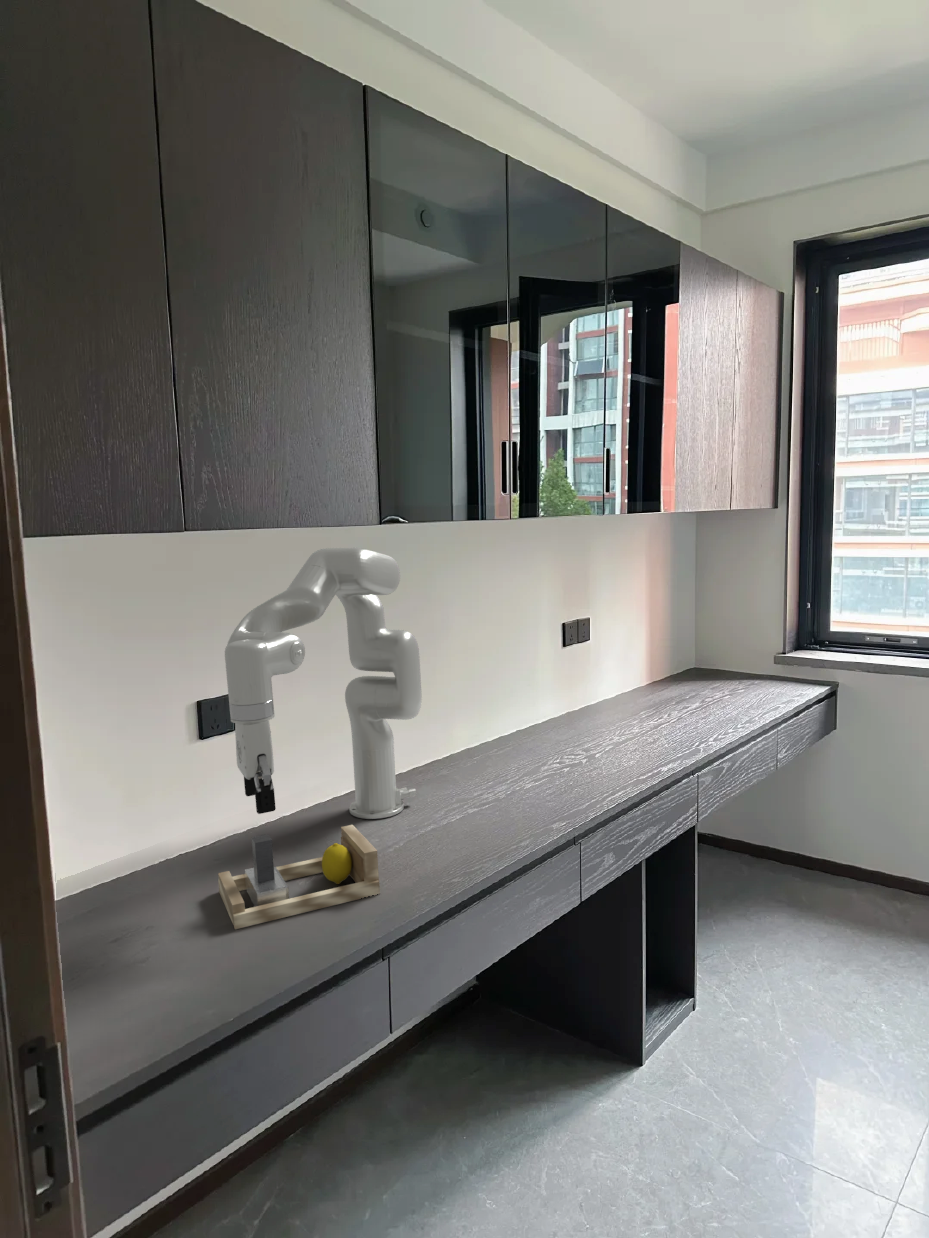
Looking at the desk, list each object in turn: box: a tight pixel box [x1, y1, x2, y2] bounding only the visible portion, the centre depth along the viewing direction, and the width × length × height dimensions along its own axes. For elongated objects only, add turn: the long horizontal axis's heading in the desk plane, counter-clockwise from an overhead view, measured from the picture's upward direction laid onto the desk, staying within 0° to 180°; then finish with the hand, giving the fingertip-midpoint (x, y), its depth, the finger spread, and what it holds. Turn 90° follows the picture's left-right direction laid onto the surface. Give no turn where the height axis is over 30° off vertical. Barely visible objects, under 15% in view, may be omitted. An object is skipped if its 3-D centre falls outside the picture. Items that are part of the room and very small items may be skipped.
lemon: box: [322, 842, 352, 885], centre depth 158 cm, size 6×6×8 cm
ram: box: [244, 833, 290, 907], centre depth 152 cm, size 6×11×12 cm, turn 25°
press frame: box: [217, 824, 381, 930], centre depth 155 cm, size 26×16×8 cm, turn 115°
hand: (260, 802), depth 151 cm, fingers open, 9 cm apart
